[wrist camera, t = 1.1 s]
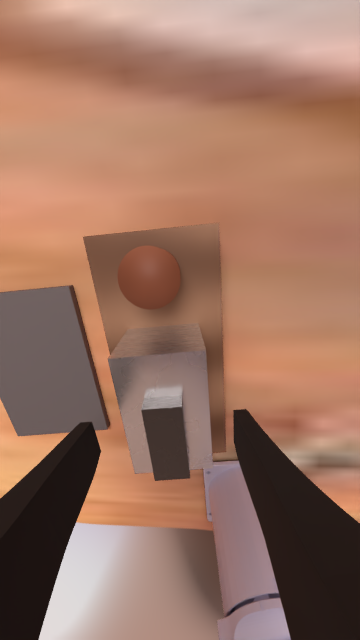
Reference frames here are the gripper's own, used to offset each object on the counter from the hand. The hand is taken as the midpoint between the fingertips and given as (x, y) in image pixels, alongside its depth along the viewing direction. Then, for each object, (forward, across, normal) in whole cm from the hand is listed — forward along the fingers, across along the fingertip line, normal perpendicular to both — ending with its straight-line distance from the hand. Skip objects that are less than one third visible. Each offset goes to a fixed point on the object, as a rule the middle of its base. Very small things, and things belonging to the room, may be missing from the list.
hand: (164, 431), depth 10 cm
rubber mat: (+8, +12, 0) cm, 14 cm away
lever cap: (+5, 0, 0) cm, 5 cm away
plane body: (+8, 0, -1) cm, 8 cm away
